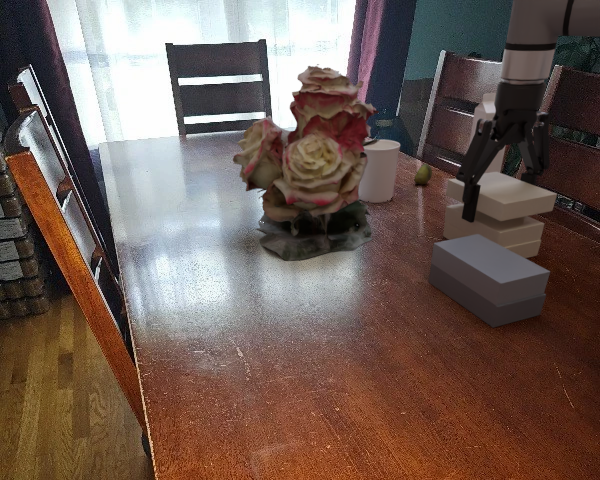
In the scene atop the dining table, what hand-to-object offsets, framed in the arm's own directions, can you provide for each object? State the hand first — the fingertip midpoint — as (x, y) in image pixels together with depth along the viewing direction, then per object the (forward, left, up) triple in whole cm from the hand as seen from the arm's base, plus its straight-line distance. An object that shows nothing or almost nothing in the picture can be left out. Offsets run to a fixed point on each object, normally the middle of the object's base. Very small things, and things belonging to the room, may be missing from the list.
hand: (494, 215), depth 96 cm
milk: (+24, -16, -6) cm, 29 cm away
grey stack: (-17, +15, -6) cm, 23 cm away
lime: (+40, -11, -6) cm, 42 cm away
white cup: (+36, +5, -6) cm, 37 cm away
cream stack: (0, 0, -6) cm, 6 cm away
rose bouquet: (+20, +29, -6) cm, 36 cm away
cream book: (0, 0, +2) cm, 2 cm away
